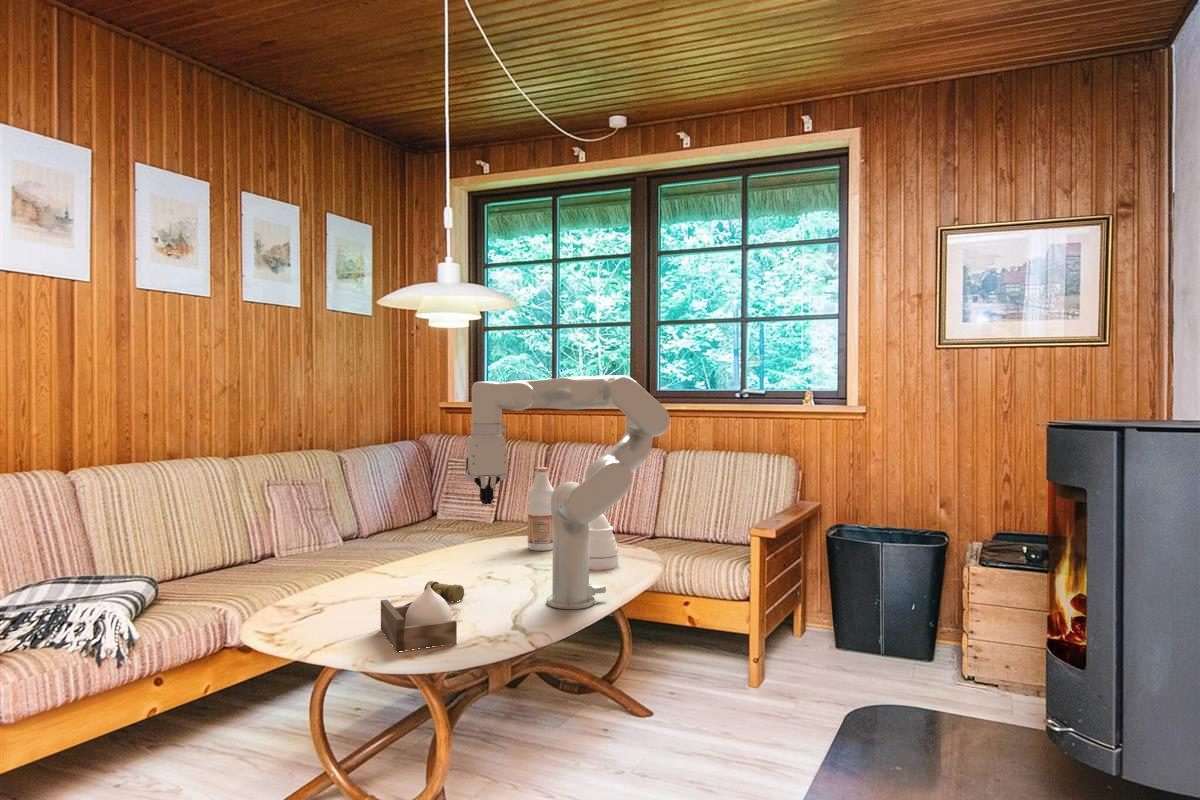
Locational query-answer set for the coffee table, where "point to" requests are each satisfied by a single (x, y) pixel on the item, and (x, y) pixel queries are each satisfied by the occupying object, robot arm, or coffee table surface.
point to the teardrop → (428, 609)
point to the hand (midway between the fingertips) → (486, 503)
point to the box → (414, 630)
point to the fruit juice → (540, 512)
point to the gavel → (446, 591)
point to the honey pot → (602, 545)
